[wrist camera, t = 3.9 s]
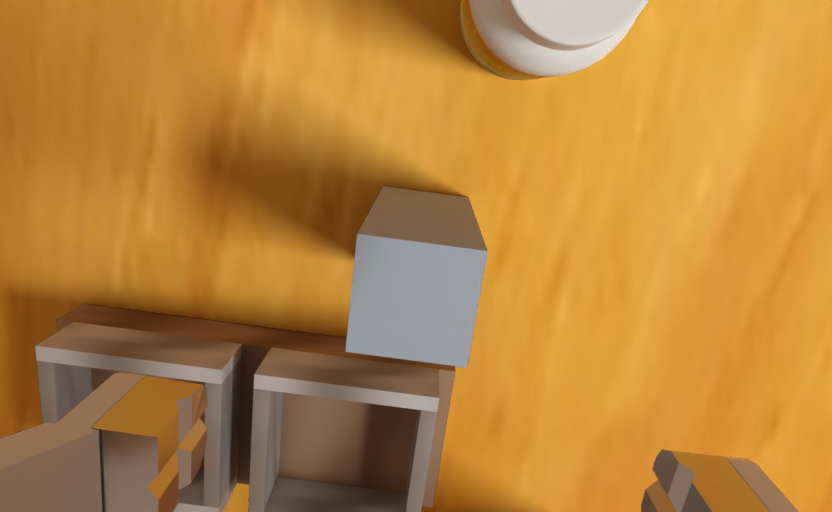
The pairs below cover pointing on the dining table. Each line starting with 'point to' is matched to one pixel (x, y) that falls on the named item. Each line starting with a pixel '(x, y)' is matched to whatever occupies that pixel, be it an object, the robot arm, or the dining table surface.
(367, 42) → the dining table surface
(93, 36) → the dining table surface
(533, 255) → the dining table surface
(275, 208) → the dining table surface
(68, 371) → the two-compartment tray
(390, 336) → the gray rectangular block
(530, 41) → the supplement bottle
